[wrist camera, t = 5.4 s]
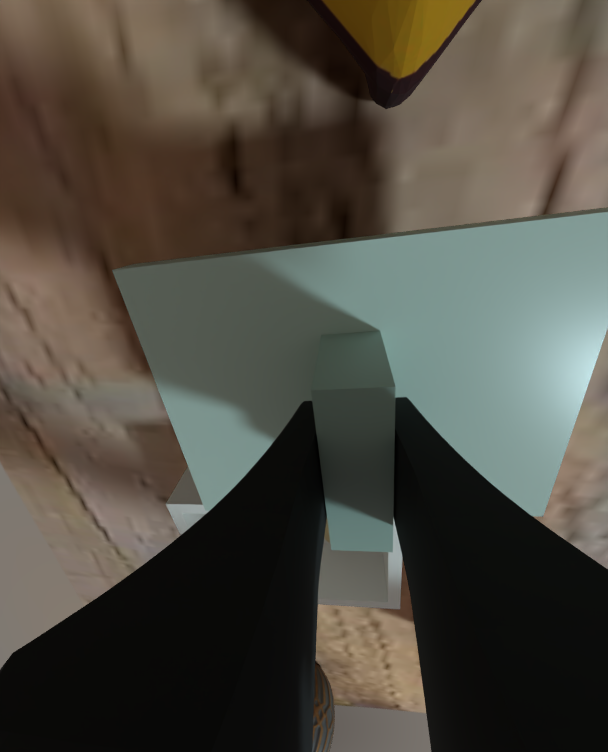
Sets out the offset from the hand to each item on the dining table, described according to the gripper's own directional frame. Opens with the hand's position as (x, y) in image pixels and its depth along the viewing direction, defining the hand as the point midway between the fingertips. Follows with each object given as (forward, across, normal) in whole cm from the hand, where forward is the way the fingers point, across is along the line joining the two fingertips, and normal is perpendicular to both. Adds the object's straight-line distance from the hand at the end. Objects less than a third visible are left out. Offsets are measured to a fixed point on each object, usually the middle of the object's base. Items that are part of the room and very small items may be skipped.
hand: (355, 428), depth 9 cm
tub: (+7, +4, +12) cm, 14 cm away
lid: (+3, 0, 0) cm, 3 cm away
